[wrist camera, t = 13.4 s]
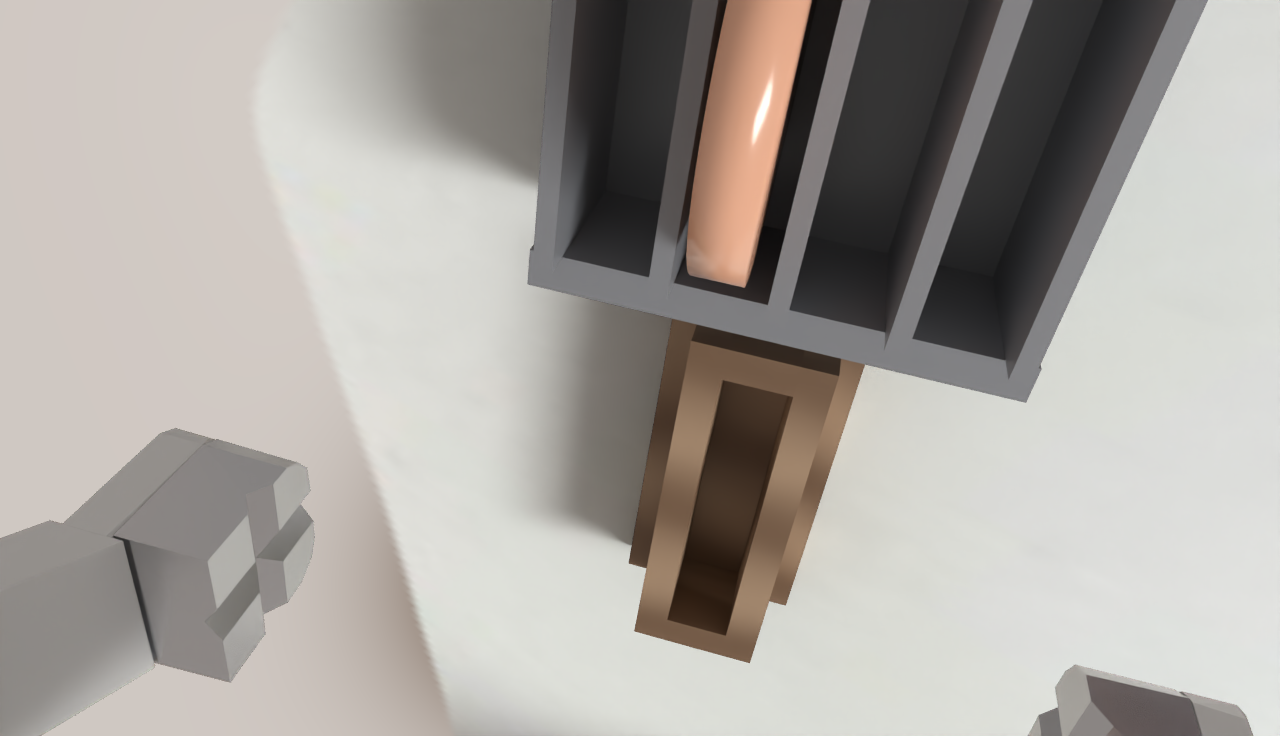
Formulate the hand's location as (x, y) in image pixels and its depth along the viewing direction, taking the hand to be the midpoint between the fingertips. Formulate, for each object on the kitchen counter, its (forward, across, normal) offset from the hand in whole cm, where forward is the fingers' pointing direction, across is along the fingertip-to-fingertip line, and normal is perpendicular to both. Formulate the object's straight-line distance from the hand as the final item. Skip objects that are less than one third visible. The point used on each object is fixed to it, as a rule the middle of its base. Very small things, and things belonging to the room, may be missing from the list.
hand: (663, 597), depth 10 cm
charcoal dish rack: (+23, +1, +1) cm, 23 cm away
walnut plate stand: (+23, +1, -16) cm, 28 cm away
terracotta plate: (+17, -1, +1) cm, 17 cm away
